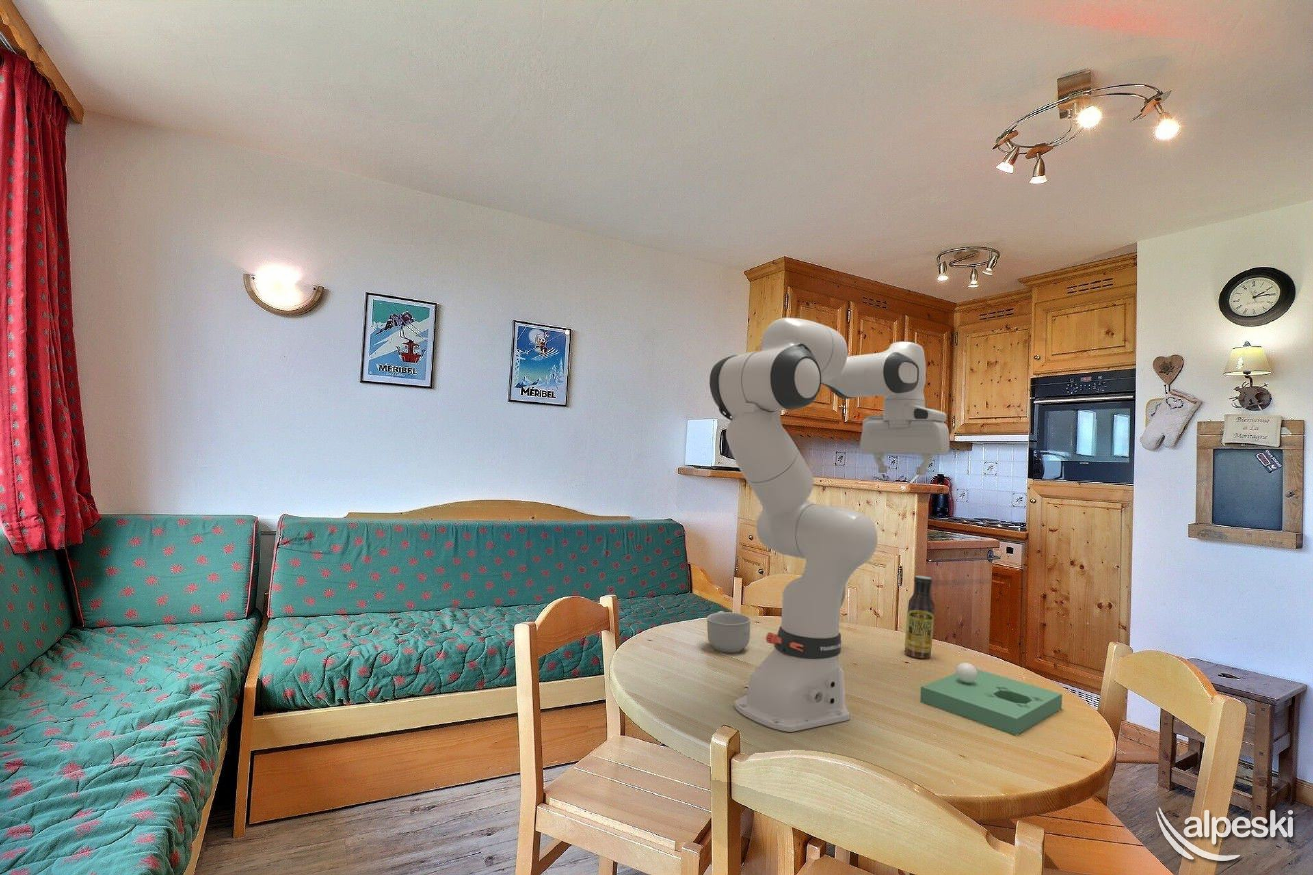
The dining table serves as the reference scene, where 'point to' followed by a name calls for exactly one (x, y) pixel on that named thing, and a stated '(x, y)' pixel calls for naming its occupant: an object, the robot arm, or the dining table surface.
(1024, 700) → the putting board
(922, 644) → the sauce bottle
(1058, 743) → the dining table surface
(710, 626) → the teacup
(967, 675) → the ball
